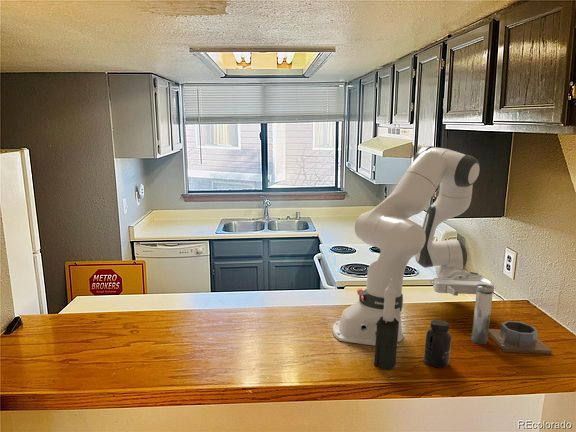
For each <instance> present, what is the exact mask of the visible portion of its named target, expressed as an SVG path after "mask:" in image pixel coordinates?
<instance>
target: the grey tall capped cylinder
mask: <svg viewBox="0 0 576 432" xmlns="http://www.w3.org/2000/svg"><path fill="white" fill-rule="evenodd" d="M476 290H477V293H476V294H475V302H474V311H473V313H474V314H473V322H472V330H471V331H472V332H471V338H470V339H471V341H472V342H473V343H475V344H479V345H486V344H487V343H488V338H489V337H488V336H489V334H488V329H490V320H491V319H490V318H491V310H492V303H493V295H494V293H495V292H494V291H495V286H494V287H493V286H490V285H486V284H478V285H477V287H476Z"/></svg>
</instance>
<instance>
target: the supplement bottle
mask: <svg viewBox="0 0 576 432" xmlns="http://www.w3.org/2000/svg"><path fill="white" fill-rule="evenodd" d="M429 328H430V329H428V330H427V331H426V333H425V340H424V341H425V342H424V352H423V361H424V363H425V364H427V365H428V366H430V367H432V368H433V367H434V368H439V369H443V368H445V367H448V365H449V362H450V353H451V346H452V345H451V344H452V334H451V333H450V332H449V331H450V330H449V329H450V323H449V322H447V321H446V320H442V319H433V320H431V322H430V327H429Z"/></svg>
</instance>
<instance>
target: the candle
mask: <svg viewBox="0 0 576 432" xmlns="http://www.w3.org/2000/svg"><path fill="white" fill-rule="evenodd" d="M392 281H393V279H390V283H389V285H388V287H387V288H386V290H385V298H384V311H383V316H382V317H380V320H378V321H377V331H376V344H375V347H374V360H373V365H374V366H375V367H376V368H380V369H384V370H386V371H391V370H393V369H394V367H395V366H396V363H397V349H398V342H397V340H398V328H399V321H397V320H396V319H395V318H394V311H395V298H396V290H395V289H394V286H393V282H392Z"/></svg>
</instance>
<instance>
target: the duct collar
mask: <svg viewBox="0 0 576 432" xmlns="http://www.w3.org/2000/svg"><path fill="white" fill-rule="evenodd" d="M538 332H539V330H538V328H536V327H535V326H533V325H532V324H528V323H525V322H522V321H515V320H506V321H503V322H502V323H501V325H500V329H499V328H498V329H497V328H496V329H495V328H489V329H488V336H489V337H490V338H491V339H492V340H493V341H494V343H496V345H498V347H499V348H500V349H501V350H502V351H503V352H504V353H516V354H517V353H519V354H520V353H521V354H536V355H537V354H538V355H540V354H541V355H552V354H553V349H551V348H550V347H549V346H547V344H545V342H543V341H542V340H541V339H540V338H538V334H539V333H538Z"/></svg>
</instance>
